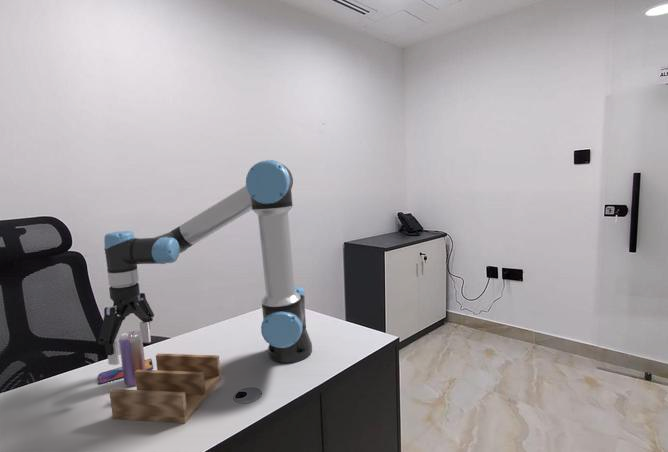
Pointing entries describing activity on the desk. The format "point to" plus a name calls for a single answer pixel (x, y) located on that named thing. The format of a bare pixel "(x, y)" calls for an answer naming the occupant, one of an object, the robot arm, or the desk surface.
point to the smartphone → (118, 373)
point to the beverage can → (131, 355)
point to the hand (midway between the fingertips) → (131, 352)
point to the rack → (168, 389)
